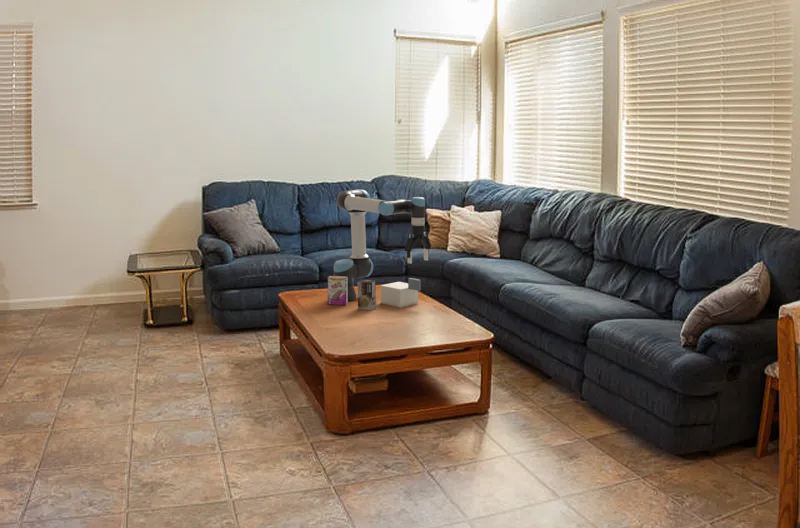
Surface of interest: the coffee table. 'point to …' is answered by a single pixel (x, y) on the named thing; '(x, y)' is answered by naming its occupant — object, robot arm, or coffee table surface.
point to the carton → (399, 297)
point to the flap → (405, 285)
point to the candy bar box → (337, 290)
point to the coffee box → (366, 294)
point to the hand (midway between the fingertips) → (417, 261)
